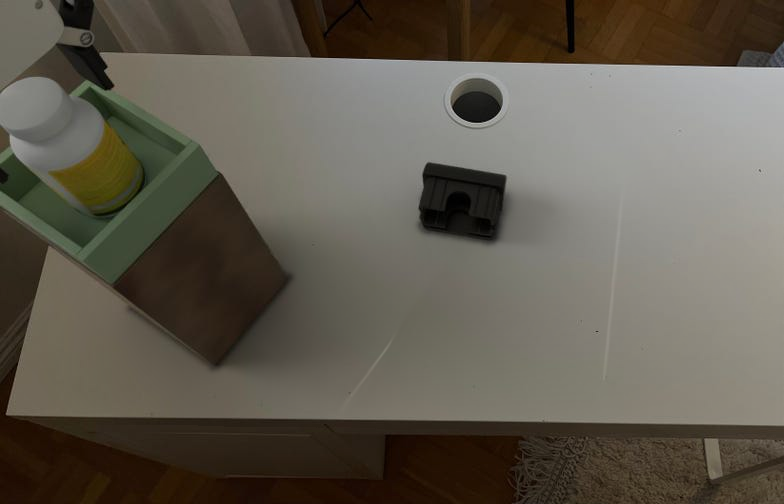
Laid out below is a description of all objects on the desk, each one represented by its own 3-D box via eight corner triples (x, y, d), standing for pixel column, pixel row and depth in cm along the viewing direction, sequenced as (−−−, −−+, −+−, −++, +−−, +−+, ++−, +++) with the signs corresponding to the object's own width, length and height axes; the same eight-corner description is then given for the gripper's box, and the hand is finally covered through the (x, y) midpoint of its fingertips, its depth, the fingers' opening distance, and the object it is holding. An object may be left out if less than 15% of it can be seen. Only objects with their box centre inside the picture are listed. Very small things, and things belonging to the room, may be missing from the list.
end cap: (504, 193, 85) (508, 165, 79) (495, 241, 82) (498, 216, 76) (429, 181, 86) (427, 152, 79) (418, 228, 83) (414, 202, 76)
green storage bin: (112, 284, 53) (82, 261, 49) (5, 209, 55) (-32, 181, 51) (219, 174, 57) (200, 144, 53) (115, 109, 60) (90, 76, 56)
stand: (214, 366, 74) (112, 287, 53) (131, 307, 77) (1, 210, 55) (288, 278, 79) (222, 173, 58) (207, 226, 82) (115, 106, 60)
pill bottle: (165, 178, 56) (97, 92, 46) (109, 234, 54) (24, 156, 44) (111, 144, 58) (33, 52, 47) (54, 197, 55) (-42, 112, 45)
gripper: (-54, -201, 36) (100, 28, 51) (-378, -12, 30) (-90, 185, 45) (40, -151, 34) (171, 70, 50) (-280, 59, 28) (-16, 239, 43)
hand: (47, 124), depth 47 cm, fingers open, 9 cm apart
